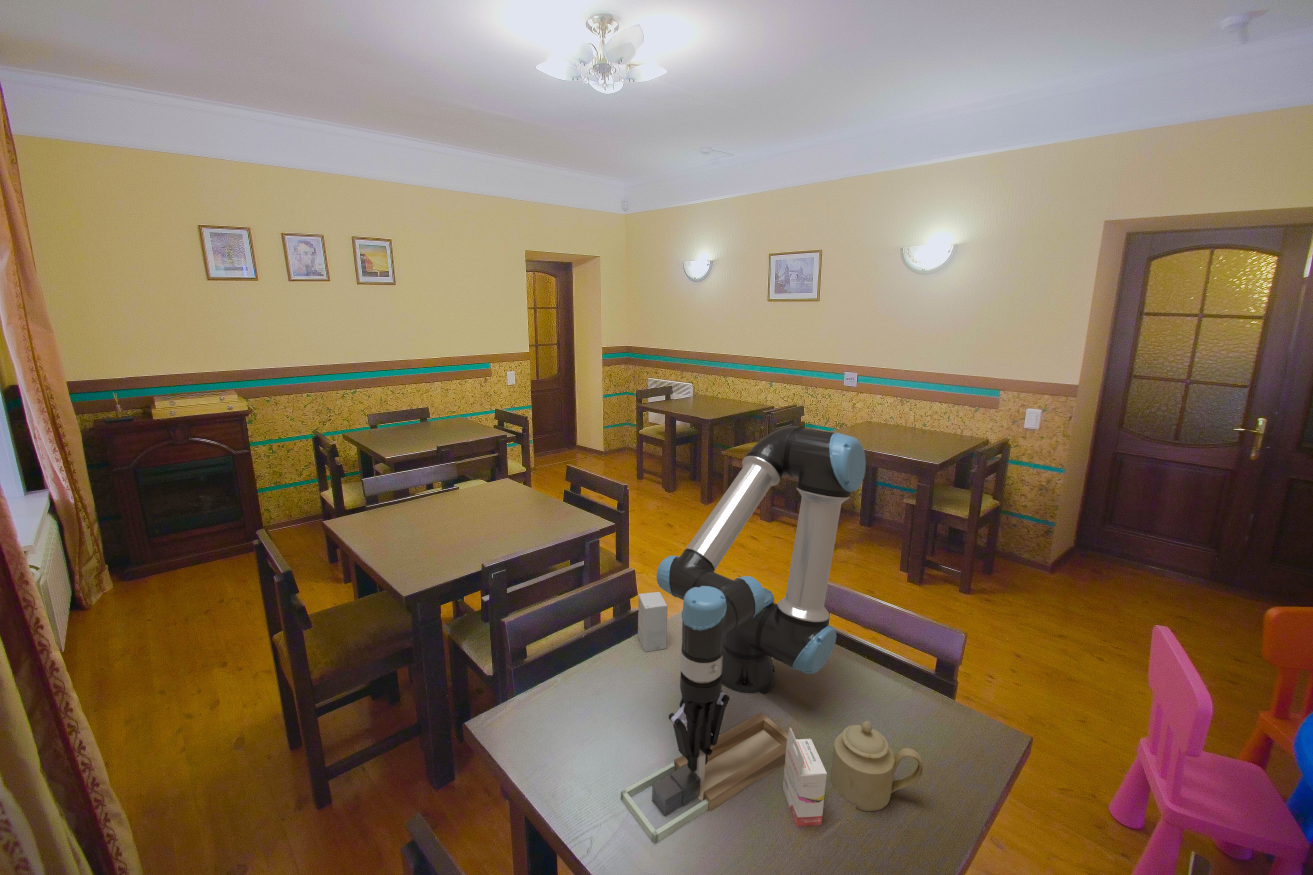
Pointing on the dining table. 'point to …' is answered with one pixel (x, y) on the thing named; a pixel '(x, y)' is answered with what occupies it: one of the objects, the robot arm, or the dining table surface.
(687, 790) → the chip
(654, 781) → the tray
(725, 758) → the slot board
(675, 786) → the chip
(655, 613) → the small box
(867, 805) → the sugar bowl
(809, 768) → the ink cartridge box
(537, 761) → the dining table surface
